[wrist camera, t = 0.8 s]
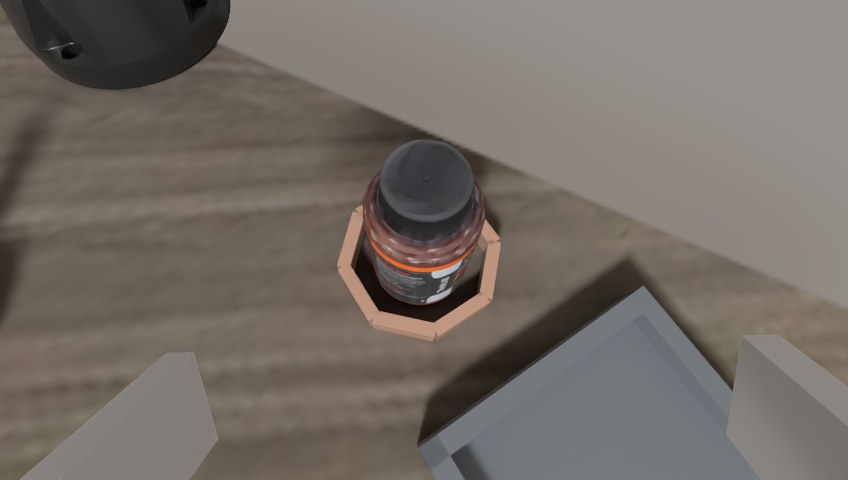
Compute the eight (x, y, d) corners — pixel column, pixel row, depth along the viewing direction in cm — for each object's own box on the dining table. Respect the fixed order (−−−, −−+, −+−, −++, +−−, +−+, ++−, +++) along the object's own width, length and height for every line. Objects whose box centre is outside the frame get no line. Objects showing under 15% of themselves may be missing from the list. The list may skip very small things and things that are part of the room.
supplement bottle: (465, 309, 28) (500, 249, 17) (370, 306, 27) (347, 244, 17) (464, 222, 30) (495, 121, 19) (377, 219, 30) (359, 116, 19)
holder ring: (319, 241, 29) (314, 231, 27) (439, 174, 31) (441, 160, 29) (396, 367, 26) (395, 365, 24) (521, 284, 28) (528, 276, 27)
